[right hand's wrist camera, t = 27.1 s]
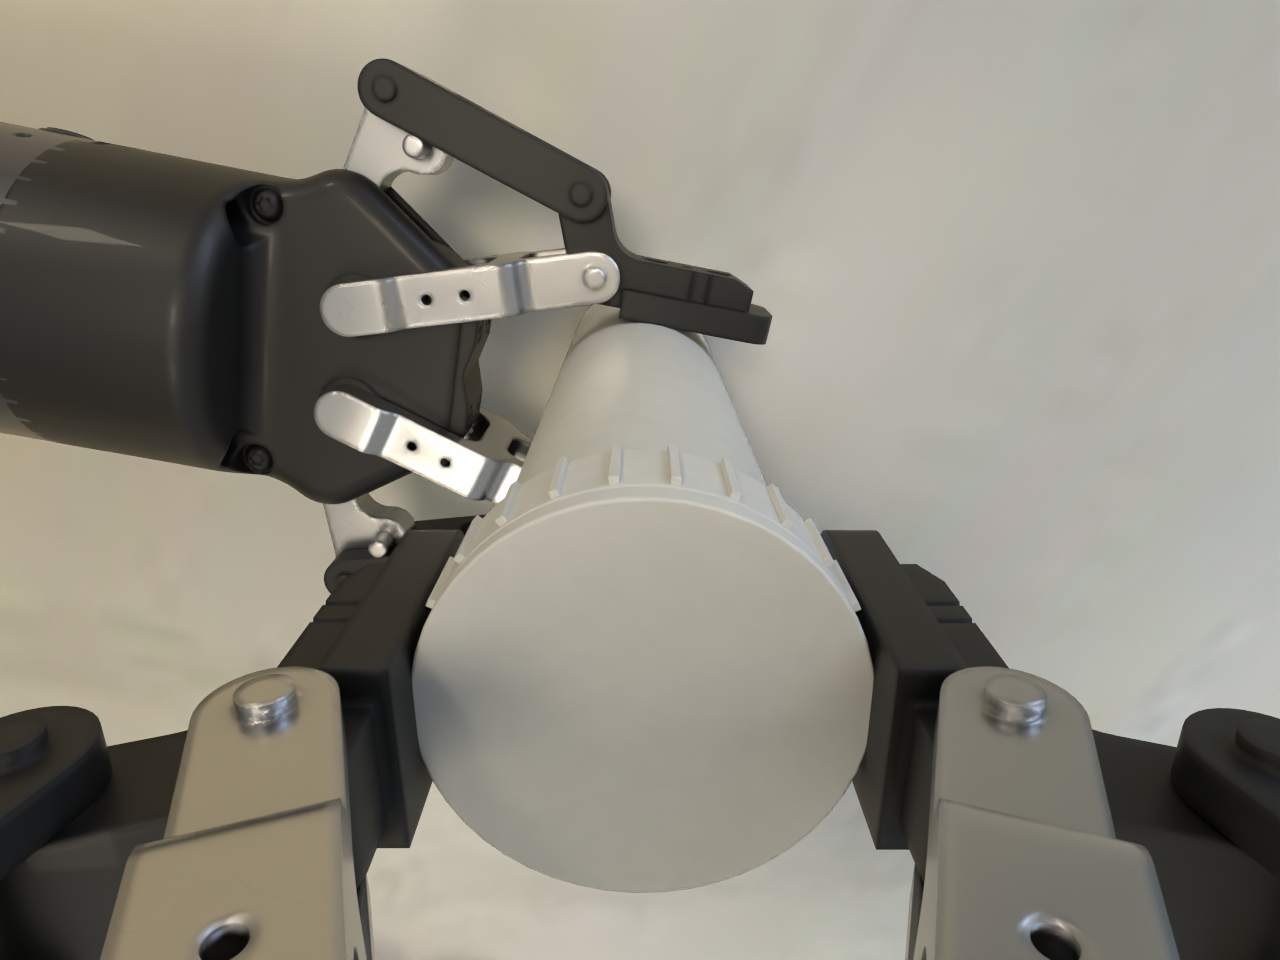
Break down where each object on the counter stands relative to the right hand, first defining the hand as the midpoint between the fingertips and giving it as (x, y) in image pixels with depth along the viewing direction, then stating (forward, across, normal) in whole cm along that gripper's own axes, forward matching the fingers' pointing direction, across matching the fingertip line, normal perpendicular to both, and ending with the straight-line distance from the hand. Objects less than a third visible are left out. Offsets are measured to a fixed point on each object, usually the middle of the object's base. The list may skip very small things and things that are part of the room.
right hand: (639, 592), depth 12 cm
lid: (-3, 0, 0) cm, 3 cm away
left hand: (+11, -3, 0) cm, 11 cm away
